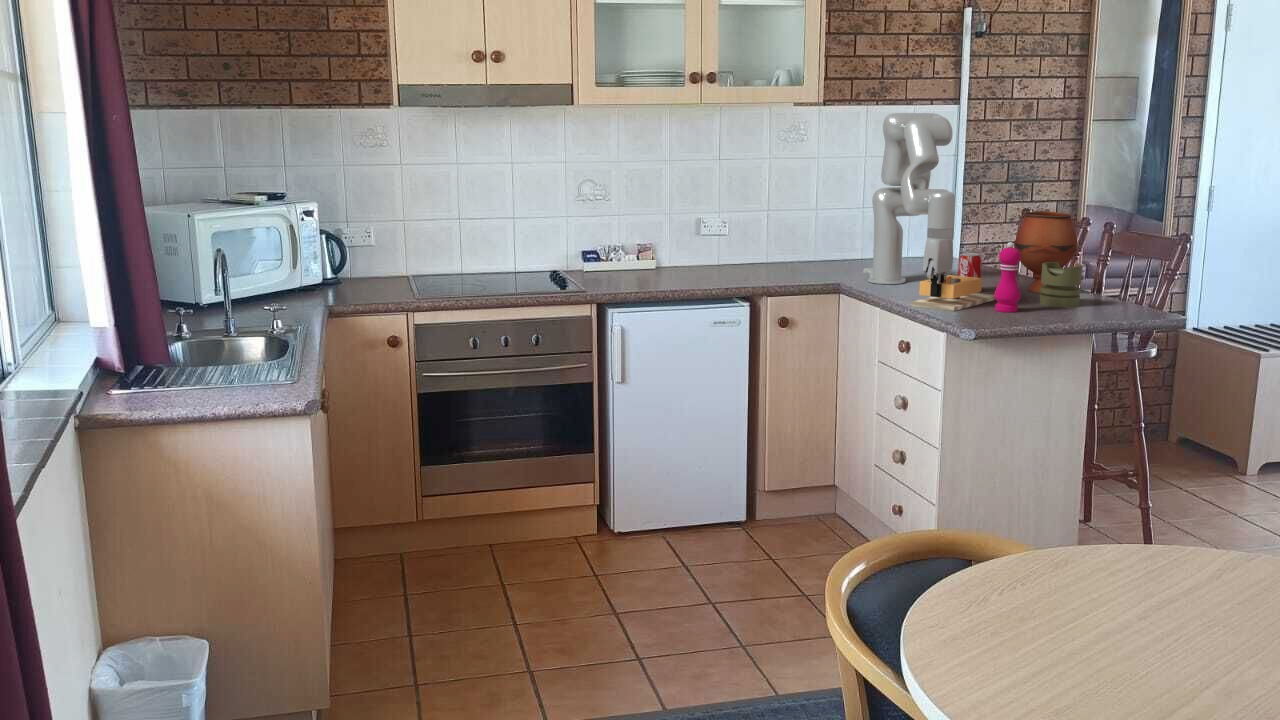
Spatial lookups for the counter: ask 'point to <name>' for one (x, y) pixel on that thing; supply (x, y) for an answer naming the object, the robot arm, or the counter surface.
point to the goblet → (1045, 242)
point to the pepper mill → (1008, 280)
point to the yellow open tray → (954, 287)
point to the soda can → (970, 265)
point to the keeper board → (953, 301)
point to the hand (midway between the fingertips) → (937, 296)
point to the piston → (1060, 285)
